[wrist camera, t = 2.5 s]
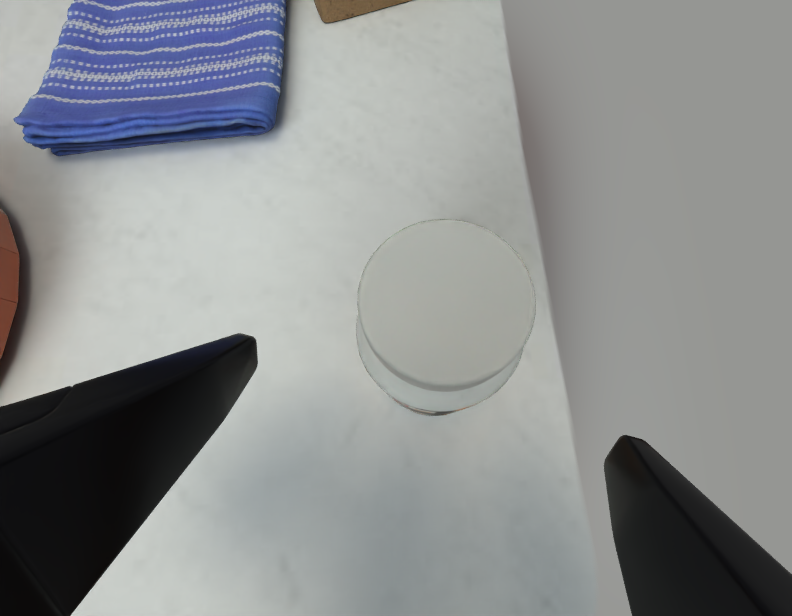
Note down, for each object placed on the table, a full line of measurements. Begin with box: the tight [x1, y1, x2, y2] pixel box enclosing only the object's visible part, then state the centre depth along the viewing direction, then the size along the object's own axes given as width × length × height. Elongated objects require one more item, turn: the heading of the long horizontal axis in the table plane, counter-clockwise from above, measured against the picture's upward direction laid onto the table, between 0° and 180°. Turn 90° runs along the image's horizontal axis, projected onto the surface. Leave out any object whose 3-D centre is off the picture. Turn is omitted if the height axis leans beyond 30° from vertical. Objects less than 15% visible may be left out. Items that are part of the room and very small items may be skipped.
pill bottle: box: [356, 219, 536, 416], centre depth 14 cm, size 6×6×10 cm
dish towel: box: [13, 0, 287, 156], centre depth 26 cm, size 17×24×3 cm
